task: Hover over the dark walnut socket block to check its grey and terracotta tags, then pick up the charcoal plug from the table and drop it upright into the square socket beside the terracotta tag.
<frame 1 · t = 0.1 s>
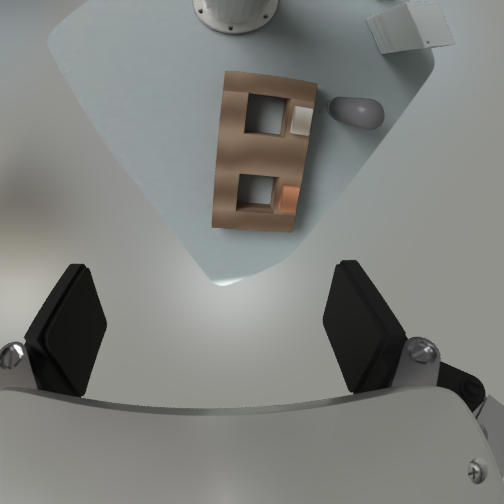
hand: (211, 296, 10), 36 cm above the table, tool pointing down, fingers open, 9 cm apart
charcoal plug: (335, 108, 40), on the table
supplement box: (387, 33, 33), on the table
socket block: (258, 150, 43), on the table
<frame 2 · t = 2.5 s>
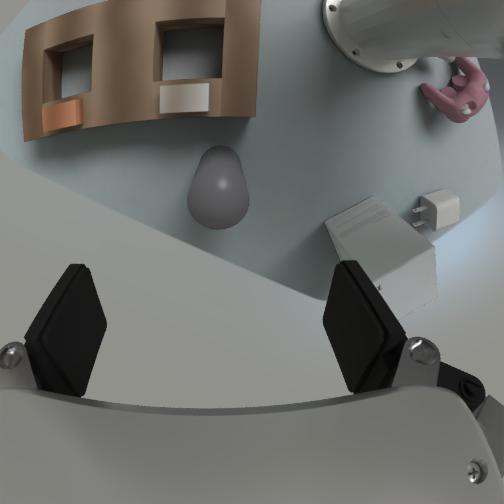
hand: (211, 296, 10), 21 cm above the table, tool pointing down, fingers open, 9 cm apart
charcoal plug: (220, 161, 28), on the table
supplement box: (357, 230, 34), on the table
usb wall charger: (423, 205, 33), on the table
socket block: (134, 60, 22), on the table
video game controller: (445, 84, 25), on the table
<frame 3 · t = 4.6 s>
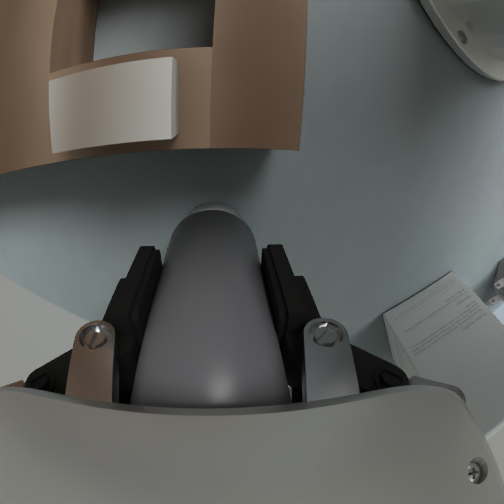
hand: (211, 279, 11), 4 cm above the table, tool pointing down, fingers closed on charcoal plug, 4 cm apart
charcoal plug: (213, 231, 15), on the table, touching gripper
supplement box: (421, 315, 21), on the table
usb wall charger: (500, 269, 20), on the table
socket block: (47, 38, 8), on the table
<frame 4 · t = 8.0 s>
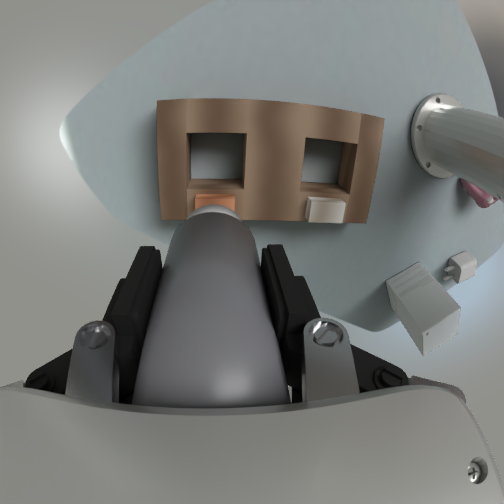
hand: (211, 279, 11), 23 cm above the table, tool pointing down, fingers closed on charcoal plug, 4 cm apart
charcoal plug: (213, 232, 15), point 19 cm above the table, touching gripper
supplement box: (404, 284, 44), on the table
usb wall charger: (450, 262, 43), on the table
socket block: (268, 155, 32), on the table
video game controller: (477, 171, 34), on the table
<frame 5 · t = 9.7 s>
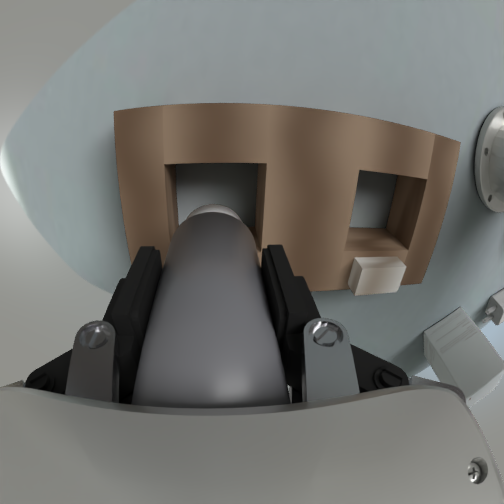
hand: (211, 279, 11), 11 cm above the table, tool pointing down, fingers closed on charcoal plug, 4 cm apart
charcoal plug: (213, 232, 15), point 7 cm above the table, touching gripper
supplement box: (441, 330, 34), on the table
usb wall charger: (490, 300, 33), on the table
socket block: (295, 191, 21), on the table
when the fingers open (6 cm above the table, at t = 11.2 s): charcoal plug drops 1 cm, resting in socket block.
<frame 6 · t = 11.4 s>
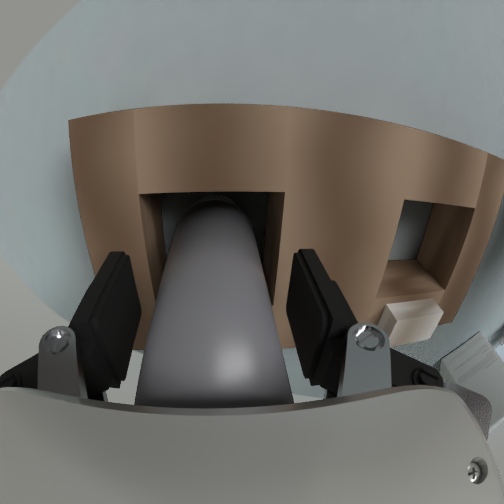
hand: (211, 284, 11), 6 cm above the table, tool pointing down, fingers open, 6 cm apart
charcoal plug: (214, 221, 16), resting in socket block
supplement box: (458, 355, 29), on the table
socket block: (315, 220, 17), on the table
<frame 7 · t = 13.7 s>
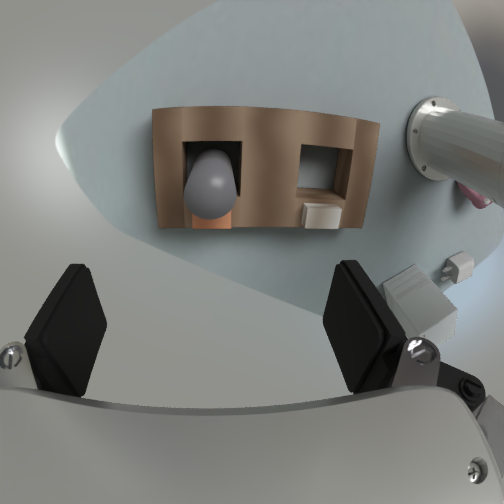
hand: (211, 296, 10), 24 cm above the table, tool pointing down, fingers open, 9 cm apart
charcoal plug: (213, 162, 31), resting in socket block
supplement box: (401, 286, 45), on the table
usb wall charger: (448, 263, 44), on the table
socket block: (264, 162, 32), on the table
video game controller: (473, 172, 35), on the table
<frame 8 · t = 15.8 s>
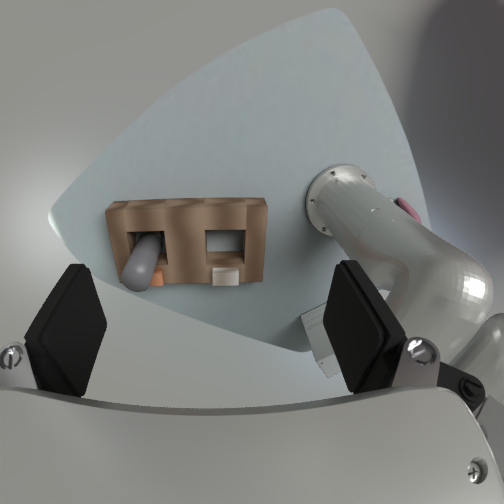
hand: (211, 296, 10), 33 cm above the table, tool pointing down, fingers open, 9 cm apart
charcoal plug: (153, 237, 45), resting in socket block
supplement box: (320, 317, 58), on the table
usb wall charger: (370, 297, 57), on the table
socket block: (188, 236, 46), on the table
video game controller: (388, 221, 48), on the table
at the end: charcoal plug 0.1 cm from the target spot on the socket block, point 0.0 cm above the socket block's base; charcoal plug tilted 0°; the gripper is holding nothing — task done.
